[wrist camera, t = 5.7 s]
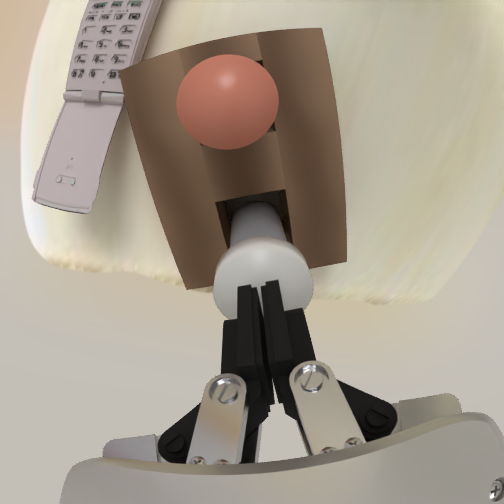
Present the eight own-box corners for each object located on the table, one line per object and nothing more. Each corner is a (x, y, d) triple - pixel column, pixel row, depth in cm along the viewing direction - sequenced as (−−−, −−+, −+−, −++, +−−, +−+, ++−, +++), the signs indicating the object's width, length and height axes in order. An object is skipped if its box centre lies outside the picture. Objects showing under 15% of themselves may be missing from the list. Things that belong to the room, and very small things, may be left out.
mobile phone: (30, 205, 15) (116, -92, 3) (67, 179, 20) (137, -65, 8) (93, 219, 16) (194, -101, 4) (123, 190, 21) (202, -66, 9)
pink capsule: (258, 67, 15) (268, 46, 9) (270, 126, 18) (286, 139, 11) (194, 80, 16) (167, 69, 9) (207, 139, 18) (189, 159, 12)
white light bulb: (284, 186, 17) (309, 241, 11) (292, 246, 19) (315, 319, 13) (215, 199, 17) (200, 261, 11) (230, 257, 19) (226, 334, 13)
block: (303, 43, 16) (321, 27, 11) (328, 230, 24) (346, 261, 19) (145, 76, 16) (118, 70, 12) (195, 254, 24) (186, 289, 20)
